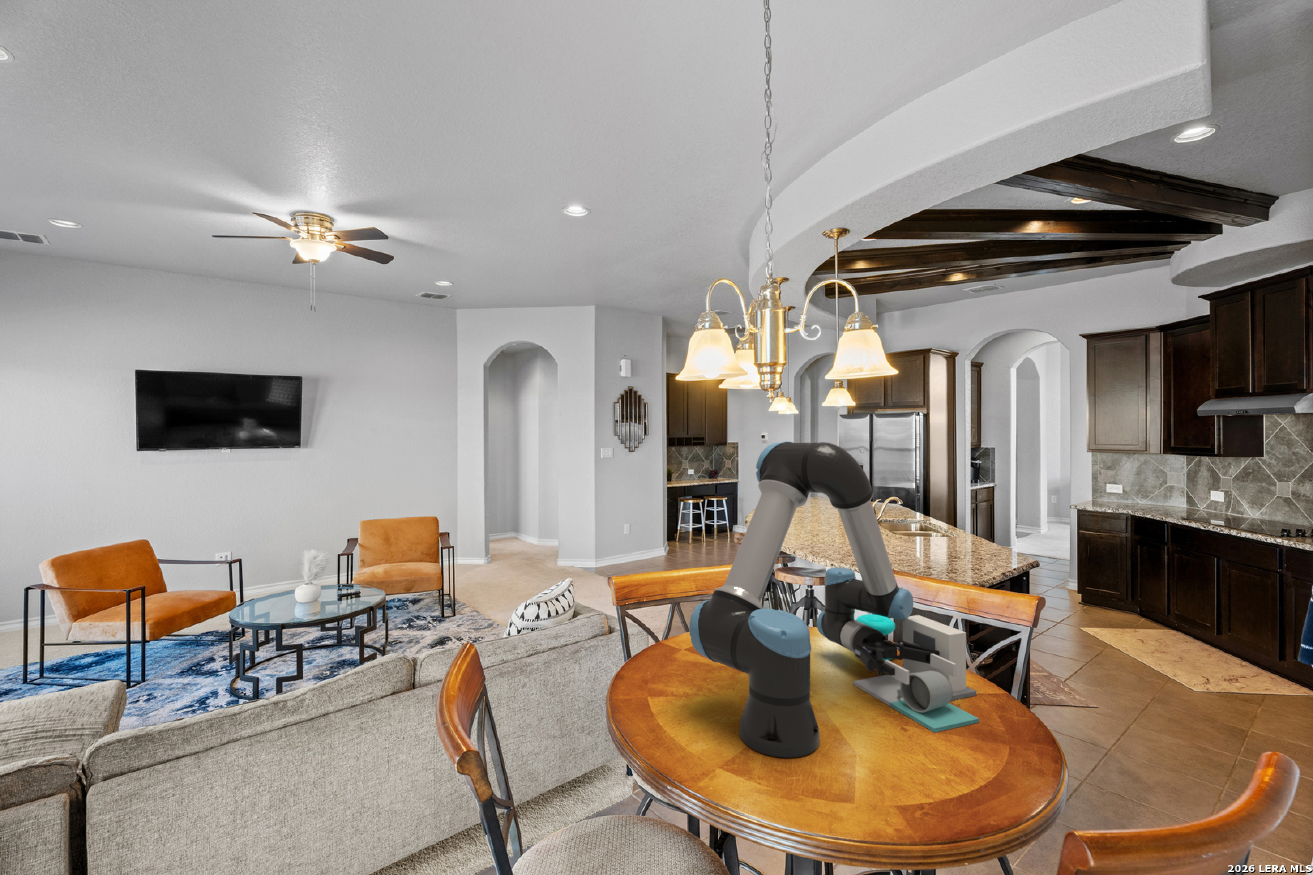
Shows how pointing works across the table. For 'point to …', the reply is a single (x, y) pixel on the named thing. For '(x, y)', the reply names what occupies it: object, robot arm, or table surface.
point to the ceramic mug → (926, 691)
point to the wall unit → (945, 642)
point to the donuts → (878, 624)
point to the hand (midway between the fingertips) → (932, 674)
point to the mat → (932, 719)
